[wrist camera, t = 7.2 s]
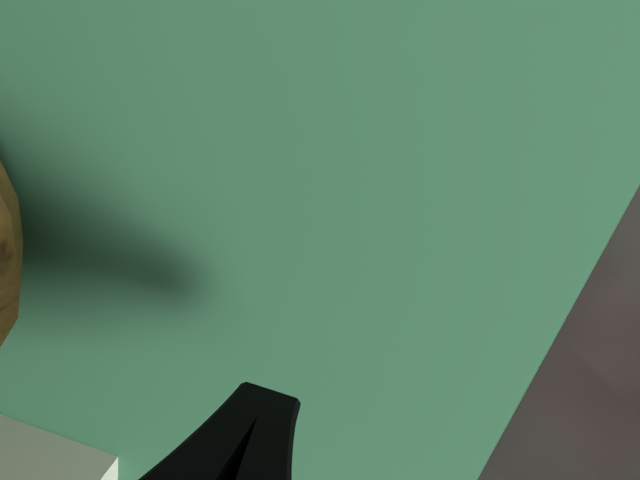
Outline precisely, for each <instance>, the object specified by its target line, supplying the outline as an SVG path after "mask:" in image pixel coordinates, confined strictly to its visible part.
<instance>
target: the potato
mask: <svg viewBox="0 0 640 480" xmlns="http://www.w3.org/2000/svg"><path fill="white" fill-rule="evenodd" d="M22 255H23V234H22V226H21V218H20V210H19V202H18V197H17V194H16V192H15V190H14V188H13V186H12V184H11V182H10V179H9V177H8V175H7V173H6V171H5V169H4V166H3V164H2V162H1V160H0V347H1V346H2V344H3V342H4V341H5V339H6V337H7V336H8V334H9V332H10V331H11V329H12V328H13V326H14V324H15V323H16V321H17V319H18V311H19V299H20V287H21V275H22Z"/></svg>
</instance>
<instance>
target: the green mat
mask: <svg viewBox="0 0 640 480" xmlns="http://www.w3.org/2000/svg"><path fill="white" fill-rule="evenodd" d="M0 160H1V162H2V164H3V166H4V169H5V171H6V173H7V175H8V177H9V179H10V182H11V184H12V186H13V188H14V190H15V192H16V194H17V197H18V202H19V210H20V218H21V226H22V234H23V255H22V275H21V287H20V299H19V311H18V319H17V321H16V323H15V324H14V326H13V328H12V329H11V331H10V332H9V334H8V336H7V337H6V339H5V341H4V342H3V344H2V346H1V347H0V414H1V415H4V416H7V417H9V418H12V419H15V420H18V421H20V422H23V423H26V424H29V425H32V426H34V427H37V428H40V429H43V430H45V431H48V432H51V433H54V434H57V435H59V436H62V437H65V438H68V439H70V440H73V441H76V442H79V443H82V444H84V445H87V446H90V447H93V448H95V449H98V450H101V451H104V452H107V453H109V454H112V455H115V456H118V480H138V479H140V478H141V477H142V476H143V475H144V474H146V473H147V472H148V471H149V470H151V469H152V468H153V467H154V466H155V465H157V464H158V463H159V462H160V461H161V460H163V459H164V458H165V457H166V456H168V455H169V454H170V453H171V452H172V451H173V450H174V449H176V448H177V447H178V446H179V445H180V444H181V443H182V442H183V441H184V440H185V439H187V438H188V437H189V436H190V435H191V434H192V433H193V432H194V431H195V430H196V429H198V428H199V427H200V426H201V425H202V424H203V423H204V422H205V421H206V420H207V419H208V418H209V417H210V416H211V415H212V414H213V413H214V412H215V411H216V410H217V409H218V408H219V407H220V406H221V405H222V404H223V403H224V402H225V401H226V400H227V399H228V398H229V397H230V396H231V394H232V393H233V392H234V391H235V390H236V389H237V388H238V387H239V385H240V384H241V383H244V382H249V383H252V384H256V385H259V386H262V387H265V388H268V389H271V390H274V391H277V392H280V393H283V394H286V395H289V396H292V397H295V398H298V400H299V401H300V403H301V406H300V410H299V413H298V417H297V421H296V426H295V433H294V443H293V454H292V480H477V479H478V477H479V475H480V473H481V471H482V470H483V468H484V466H485V464H486V462H487V461H488V459H489V457H490V455H491V453H492V452H493V450H494V448H495V446H496V444H497V442H498V441H499V439H500V437H501V435H502V433H503V432H504V430H505V428H506V426H507V424H508V422H509V421H510V419H511V417H512V415H513V413H514V412H515V410H516V408H517V406H518V404H519V403H520V401H521V399H522V397H523V395H524V393H525V392H526V390H527V388H528V386H529V384H530V383H531V381H532V379H533V377H534V375H535V373H536V372H537V370H538V368H539V366H540V364H541V363H542V361H543V359H544V357H545V355H546V354H547V352H548V350H549V348H550V346H551V344H552V343H553V341H554V339H555V337H556V335H557V334H558V332H559V330H560V328H561V326H562V324H563V323H564V321H565V319H566V317H567V315H568V314H569V312H570V310H571V308H572V306H573V305H574V303H575V301H576V299H577V297H578V295H579V294H580V292H581V290H582V288H583V286H584V285H585V283H586V281H587V279H588V277H589V275H590V274H591V272H592V270H593V268H594V266H595V265H596V263H597V261H598V259H599V257H600V256H601V254H602V252H603V250H604V248H605V246H606V245H607V243H608V241H609V239H610V237H611V236H612V234H613V232H614V230H615V228H616V226H617V225H618V223H619V221H620V219H621V217H622V216H623V214H624V212H625V210H626V208H627V207H628V205H629V203H630V201H631V199H632V197H633V196H634V194H635V192H636V190H637V188H638V187H639V185H640V0H0Z"/></svg>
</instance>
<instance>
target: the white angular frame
mask: <svg viewBox="0 0 640 480" xmlns="http://www.w3.org/2000/svg"><path fill="white" fill-rule="evenodd" d="M0 480H118V456H115V455H112V454H109V453H107V452H104V451H101V450H98V449H95V448H93V447H90V446H87V445H84V444H82V443H79V442H76V441H73V440H70V439H68V438H65V437H62V436H59V435H57V434H54V433H51V432H48V431H45V430H43V429H40V428H37V427H34V426H32V425H29V424H26V423H23V422H20V421H18V420H15V419H12V418H9V417H7V416H4V415H1V414H0Z"/></svg>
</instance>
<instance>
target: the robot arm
mask: <svg viewBox="0 0 640 480" xmlns="http://www.w3.org/2000/svg"><path fill="white" fill-rule="evenodd" d="M300 406H301V403H300V401H299V400H298V398H295V397H292V396H289V395H286V394H283V393H280V392H277V391H274V390H271V389H268V388H265V387H262V386H259V385H256V384H252V383H249V382H244V383H241V384H240V385H239V387H238V388H237V389H236V390H235V391H234V392H233V393H232V394H231V396H230V397H229V398H228V399H227V400H226V401H225V402H224V403H223V404H222V405H221V406H220V407H219V408H218V409H217V410H216V411H215V412H214V413H213V414H212V415H211V416H210V417H209V418H208V419H207V420H206V421H205V422H204V423H203V424H202V425H201V426H200V427H199V428H198V429H196V430H195V431H194V432H193V433H192V434H191V435H190V436H189V437H188V438H187V439H185V440H184V441H183V442H182V443H181V444H180V445H179V446H178V447H177V448H176V449H174V450H173V451H172V452H171V453H170V454H169V455H168V456H166V457H165V458H164V459H163V460H161V461H160V462H159V463H158V464H157V465H155V466H154V467H153V468H152V469H151V470H149V471H148V472H147V473H146V474H144V475H143V476H142V477H141V478H140V479H138V480H292V454H293V443H294V433H295V426H296V421H297V417H298V413H299V410H300Z"/></svg>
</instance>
